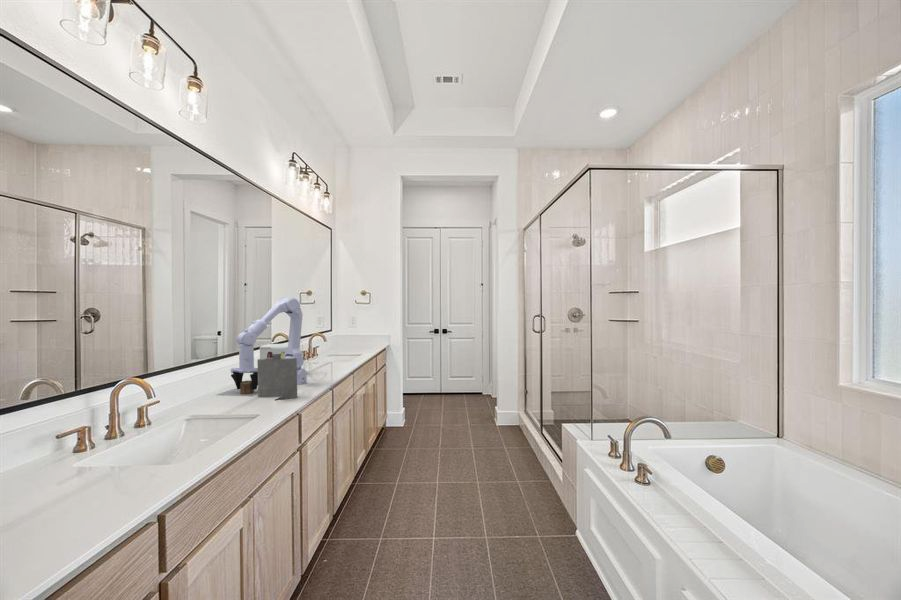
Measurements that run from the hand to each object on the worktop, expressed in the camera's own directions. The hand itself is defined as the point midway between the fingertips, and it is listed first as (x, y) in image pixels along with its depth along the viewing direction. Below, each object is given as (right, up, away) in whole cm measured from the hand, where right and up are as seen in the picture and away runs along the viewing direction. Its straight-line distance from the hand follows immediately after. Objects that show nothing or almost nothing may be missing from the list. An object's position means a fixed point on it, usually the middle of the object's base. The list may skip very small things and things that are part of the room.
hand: (247, 389), depth 165 cm
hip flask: (+16, -3, -6) cm, 18 cm away
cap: (0, -2, 0) cm, 2 cm away
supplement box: (-5, -4, +43) cm, 44 cm away
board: (-3, -3, +2) cm, 4 cm away
